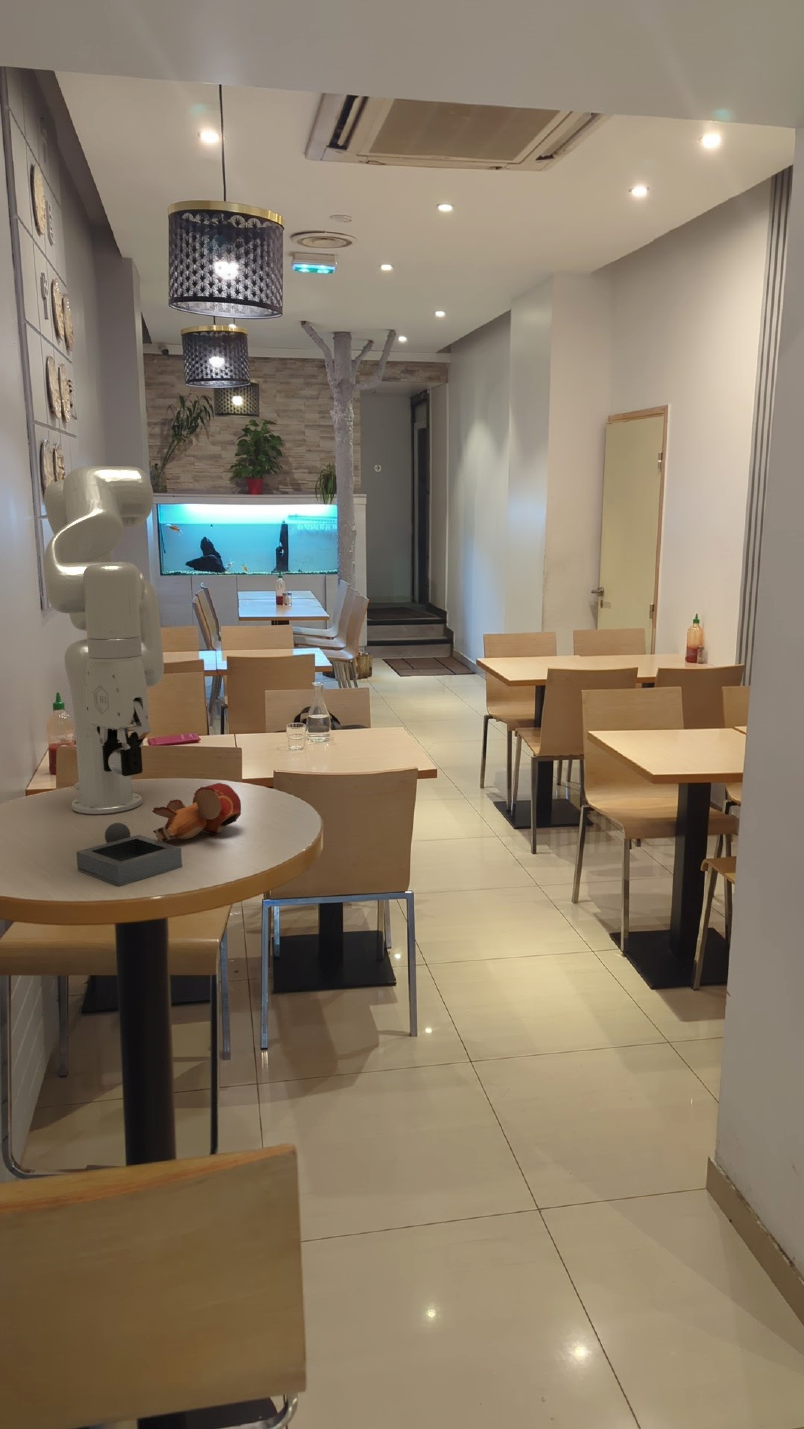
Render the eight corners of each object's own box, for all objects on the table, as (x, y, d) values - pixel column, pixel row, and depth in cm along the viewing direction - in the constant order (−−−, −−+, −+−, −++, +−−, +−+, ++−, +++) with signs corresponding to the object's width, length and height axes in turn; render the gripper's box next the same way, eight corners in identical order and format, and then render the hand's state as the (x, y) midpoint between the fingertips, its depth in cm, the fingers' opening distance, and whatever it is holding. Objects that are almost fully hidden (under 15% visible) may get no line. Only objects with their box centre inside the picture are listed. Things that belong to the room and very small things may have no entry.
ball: (100, 847, 158) (98, 823, 158) (122, 841, 161) (120, 818, 161) (114, 852, 156) (112, 828, 155) (135, 846, 159) (134, 822, 158)
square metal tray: (77, 870, 147) (76, 851, 147) (140, 852, 155) (139, 834, 155) (118, 886, 140) (117, 866, 139) (182, 866, 148) (181, 847, 148)
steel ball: (103, 774, 145) (101, 748, 144) (127, 770, 148) (125, 744, 147) (118, 778, 142) (117, 752, 142) (142, 773, 145) (140, 747, 144)
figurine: (199, 849, 151) (274, 809, 160) (174, 798, 151) (250, 761, 160) (150, 865, 166) (221, 828, 176) (127, 819, 166) (200, 784, 175)
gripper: (61, 648, 145) (70, 769, 148) (124, 655, 134) (133, 785, 137) (106, 644, 150) (114, 760, 153) (170, 650, 139) (177, 775, 142)
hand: (123, 771), depth 145 cm, fingers closed on steel ball, 4 cm apart
